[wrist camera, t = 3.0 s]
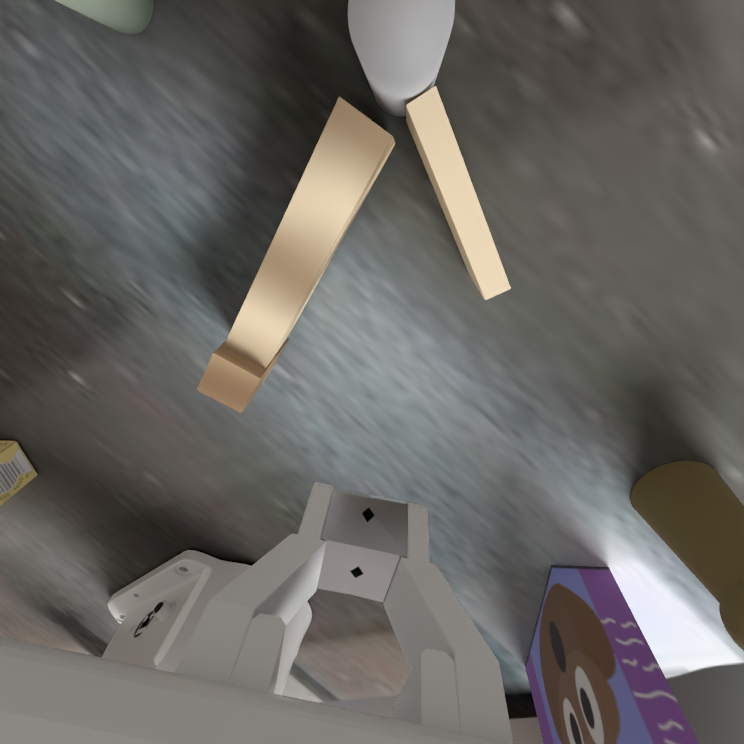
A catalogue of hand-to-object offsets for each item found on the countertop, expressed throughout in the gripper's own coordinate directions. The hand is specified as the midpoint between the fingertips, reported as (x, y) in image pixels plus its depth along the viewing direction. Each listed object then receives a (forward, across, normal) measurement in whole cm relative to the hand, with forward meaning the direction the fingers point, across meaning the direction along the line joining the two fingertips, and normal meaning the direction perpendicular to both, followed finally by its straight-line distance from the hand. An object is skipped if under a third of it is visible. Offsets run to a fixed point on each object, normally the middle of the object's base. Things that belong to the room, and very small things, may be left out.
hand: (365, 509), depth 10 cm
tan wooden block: (+14, +6, -2) cm, 15 cm away
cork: (+15, -24, +9) cm, 30 cm away
